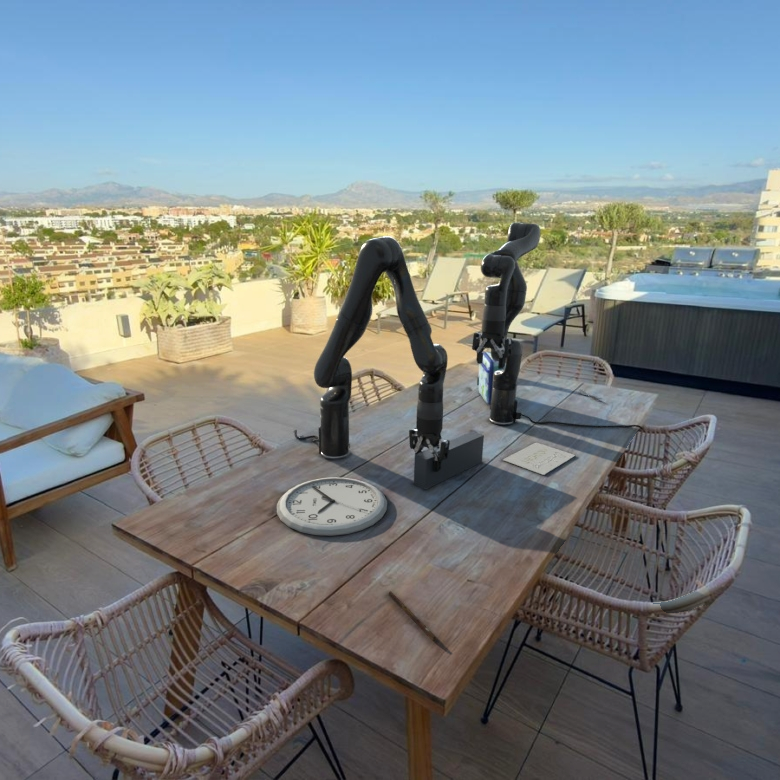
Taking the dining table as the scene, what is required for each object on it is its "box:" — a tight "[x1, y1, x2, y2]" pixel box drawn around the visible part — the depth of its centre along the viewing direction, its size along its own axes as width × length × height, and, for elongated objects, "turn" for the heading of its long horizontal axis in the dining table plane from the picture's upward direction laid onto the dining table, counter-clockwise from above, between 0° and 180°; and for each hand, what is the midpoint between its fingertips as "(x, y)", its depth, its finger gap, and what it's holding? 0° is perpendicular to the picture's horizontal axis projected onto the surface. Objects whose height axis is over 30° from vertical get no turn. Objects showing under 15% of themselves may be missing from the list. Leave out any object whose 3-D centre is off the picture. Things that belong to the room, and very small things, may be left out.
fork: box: [579, 387, 603, 403], centre depth 238 cm, size 3×16×2 cm, turn 15°
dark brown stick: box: [388, 590, 436, 642], centre depth 102 cm, size 15×1×1 cm, turn 34°
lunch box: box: [476, 351, 506, 406], centre depth 230 cm, size 26×11×21 cm, turn 179°
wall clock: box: [276, 476, 388, 537], centre depth 142 cm, size 30×2×30 cm
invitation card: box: [502, 442, 577, 476], centre depth 174 cm, size 21×1×15 cm
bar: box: [413, 430, 485, 490], centre depth 162 cm, size 28×5×10 cm, turn 134°
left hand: (427, 467), depth 155 cm, fingers open, 6 cm apart
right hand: (490, 365), depth 176 cm, fingers open, 8 cm apart
